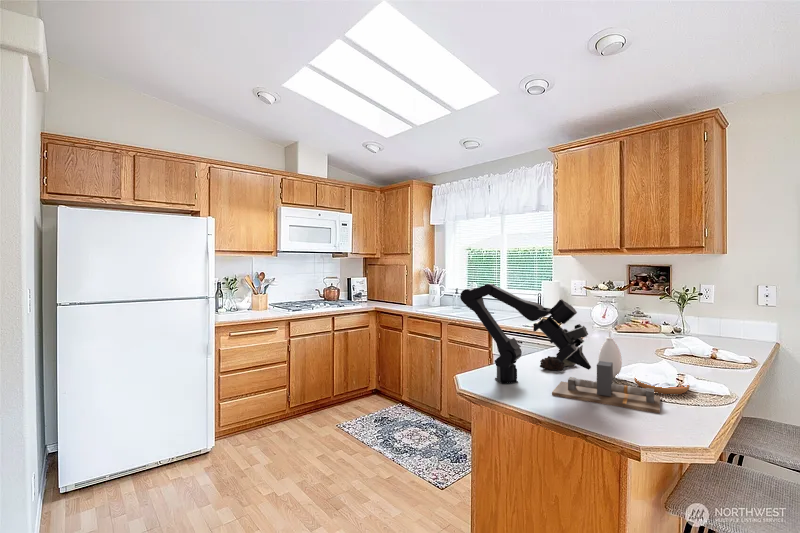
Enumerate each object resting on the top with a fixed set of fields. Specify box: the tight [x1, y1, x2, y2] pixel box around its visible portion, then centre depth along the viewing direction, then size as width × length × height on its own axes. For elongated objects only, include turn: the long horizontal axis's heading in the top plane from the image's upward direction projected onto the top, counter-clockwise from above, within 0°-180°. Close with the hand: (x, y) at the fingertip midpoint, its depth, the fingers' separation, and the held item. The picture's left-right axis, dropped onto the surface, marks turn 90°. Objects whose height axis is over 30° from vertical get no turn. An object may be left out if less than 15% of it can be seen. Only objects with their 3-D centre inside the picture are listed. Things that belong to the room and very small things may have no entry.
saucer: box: [634, 377, 690, 395], centre depth 137 cm, size 16×16×3 cm
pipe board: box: [551, 376, 661, 414], centre depth 129 cm, size 30×14×5 cm, turn 56°
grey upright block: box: [596, 361, 614, 396], centre depth 129 cm, size 4×6×10 cm
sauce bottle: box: [597, 330, 623, 379], centre depth 150 cm, size 8×8×18 cm
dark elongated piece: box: [539, 355, 577, 372], centre depth 164 cm, size 18×7×6 cm, turn 116°
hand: (590, 368), depth 131 cm, fingers closed
